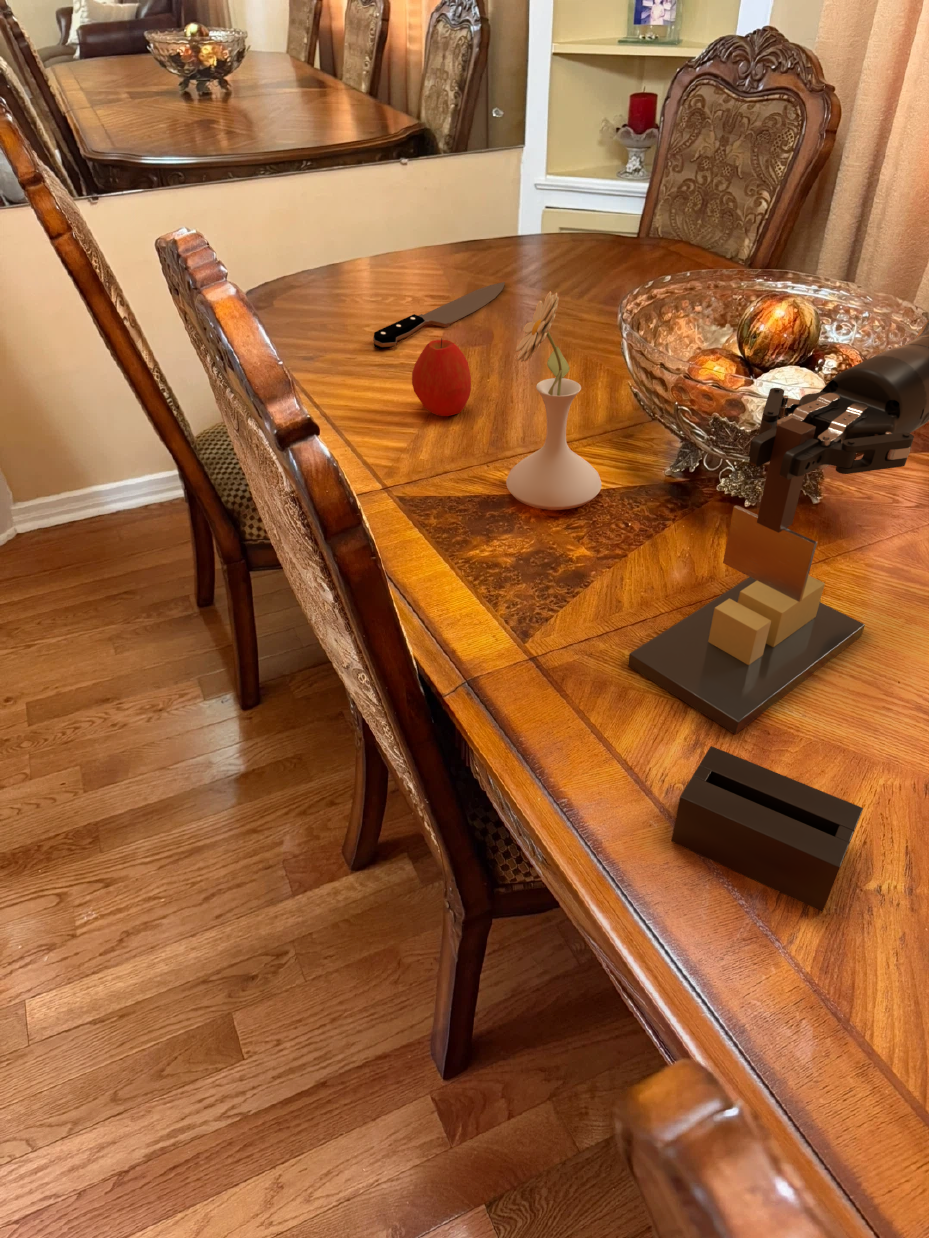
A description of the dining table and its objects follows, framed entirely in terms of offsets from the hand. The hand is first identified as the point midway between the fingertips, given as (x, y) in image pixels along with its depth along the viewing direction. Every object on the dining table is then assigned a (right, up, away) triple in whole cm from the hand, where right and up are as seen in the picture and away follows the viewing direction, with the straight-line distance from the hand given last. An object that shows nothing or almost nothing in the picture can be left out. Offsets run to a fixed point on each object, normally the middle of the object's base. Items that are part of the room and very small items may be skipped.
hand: (770, 460), depth 69 cm
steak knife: (-27, +42, +90) cm, 103 cm away
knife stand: (-2, -29, -4) cm, 30 cm away
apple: (-27, +17, +58) cm, 66 cm away
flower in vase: (-13, +2, +38) cm, 40 cm away
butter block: (+6, -13, +15) cm, 21 cm away
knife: (+2, -9, +9) cm, 13 cm away
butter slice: (+1, -15, +12) cm, 20 cm away
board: (+3, -15, +14) cm, 21 cm away
